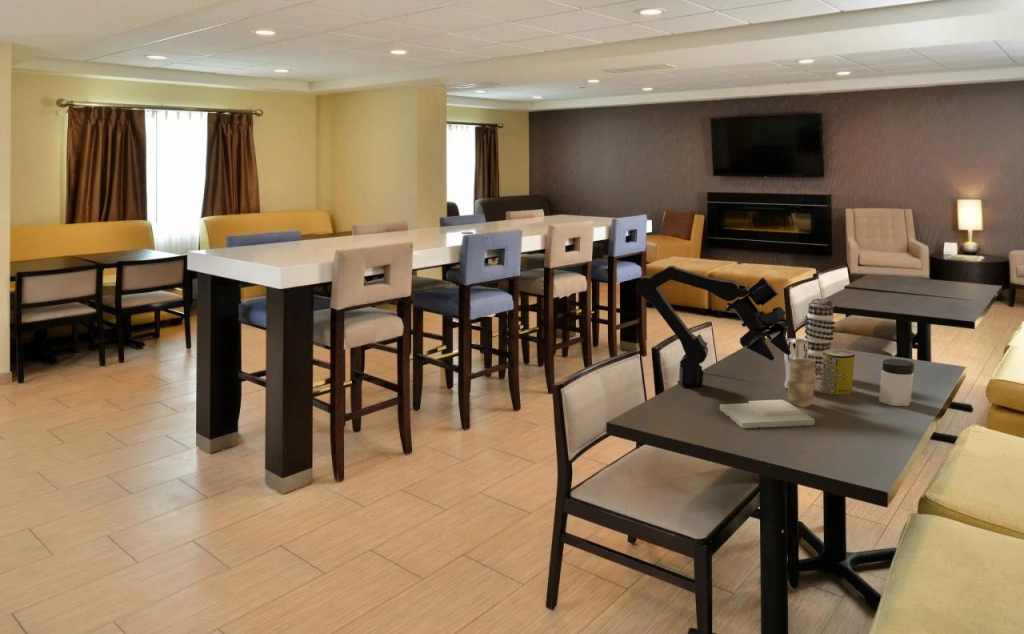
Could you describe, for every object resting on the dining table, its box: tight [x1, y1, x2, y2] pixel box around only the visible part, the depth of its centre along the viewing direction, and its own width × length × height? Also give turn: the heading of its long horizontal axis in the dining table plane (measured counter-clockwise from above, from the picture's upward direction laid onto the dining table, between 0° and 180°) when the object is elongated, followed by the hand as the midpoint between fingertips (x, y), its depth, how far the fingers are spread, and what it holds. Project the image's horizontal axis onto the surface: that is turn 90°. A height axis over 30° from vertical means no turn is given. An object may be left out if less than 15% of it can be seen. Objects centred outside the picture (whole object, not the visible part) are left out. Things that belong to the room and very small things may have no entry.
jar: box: [878, 358, 915, 407], centre depth 224 cm, size 9×8×12 cm
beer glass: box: [783, 337, 808, 390], centre depth 239 cm, size 7×7×15 cm
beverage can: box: [819, 348, 856, 396], centre depth 236 cm, size 9×9×12 cm
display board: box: [719, 399, 816, 429], centre depth 213 cm, size 20×16×2 cm
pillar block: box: [787, 357, 816, 408], centre depth 223 cm, size 5×5×13 cm
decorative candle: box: [804, 298, 836, 379], centre depth 252 cm, size 9×9×25 cm
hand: (781, 357), depth 227 cm, fingers open, 9 cm apart
